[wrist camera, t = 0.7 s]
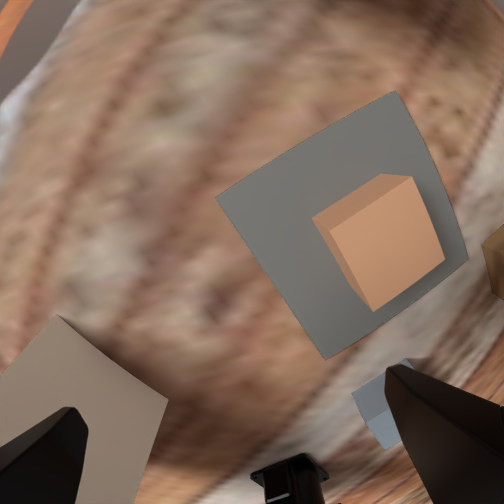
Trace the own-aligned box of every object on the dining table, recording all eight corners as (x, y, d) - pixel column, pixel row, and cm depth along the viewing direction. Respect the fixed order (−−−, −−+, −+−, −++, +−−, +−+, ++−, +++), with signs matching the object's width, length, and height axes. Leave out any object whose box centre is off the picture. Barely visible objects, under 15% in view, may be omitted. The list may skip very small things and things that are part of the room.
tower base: (464, 256, 21) (500, 274, 16) (323, 356, 22) (339, 394, 18) (391, 91, 18) (426, 76, 13) (215, 197, 19) (208, 205, 15)
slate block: (419, 391, 24) (437, 416, 21) (371, 421, 25) (384, 450, 21) (404, 357, 23) (425, 383, 19) (350, 391, 24) (365, 422, 20)
